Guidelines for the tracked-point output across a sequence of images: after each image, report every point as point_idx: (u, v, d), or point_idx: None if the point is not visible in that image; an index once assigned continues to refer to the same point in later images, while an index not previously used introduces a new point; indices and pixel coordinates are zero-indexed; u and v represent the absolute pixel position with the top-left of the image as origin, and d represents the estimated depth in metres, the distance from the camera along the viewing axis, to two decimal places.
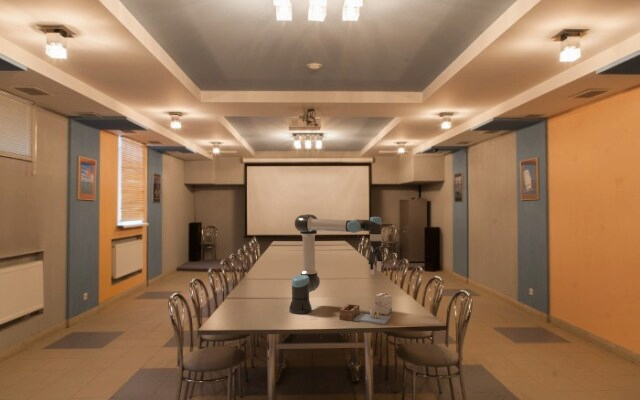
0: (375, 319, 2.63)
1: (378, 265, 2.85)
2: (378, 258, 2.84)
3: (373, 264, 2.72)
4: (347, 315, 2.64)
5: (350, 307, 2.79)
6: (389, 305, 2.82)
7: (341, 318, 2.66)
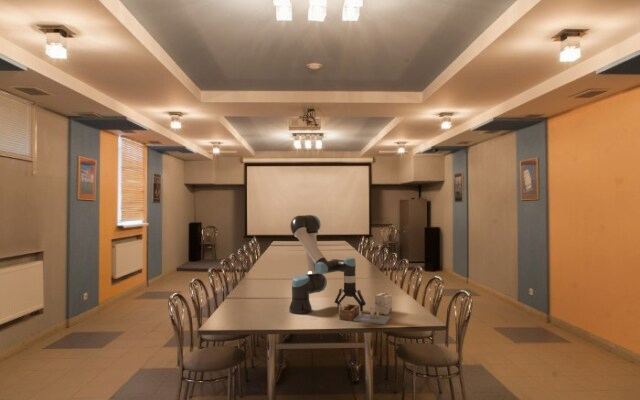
0: (375, 319, 2.63)
1: None
2: None
3: (338, 304, 2.74)
4: (347, 315, 2.64)
5: (350, 307, 2.79)
6: (389, 305, 2.82)
7: (341, 318, 2.66)
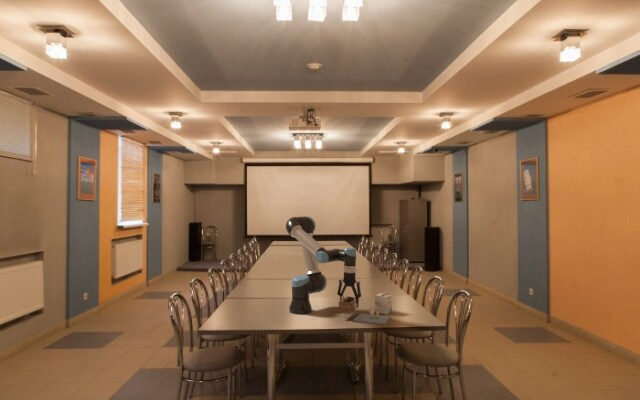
0: (375, 319, 2.63)
1: None
2: None
3: (341, 296, 2.74)
4: (346, 307, 2.65)
5: (349, 299, 2.79)
6: (389, 305, 2.82)
7: (340, 310, 2.67)
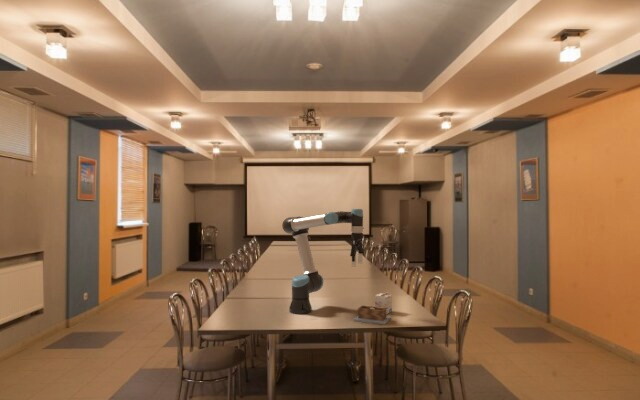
0: None
1: (359, 257, 2.83)
2: (359, 250, 2.82)
3: (355, 256, 2.69)
4: (385, 313, 2.64)
5: None
6: (389, 305, 2.82)
7: (383, 319, 2.61)
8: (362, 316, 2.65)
